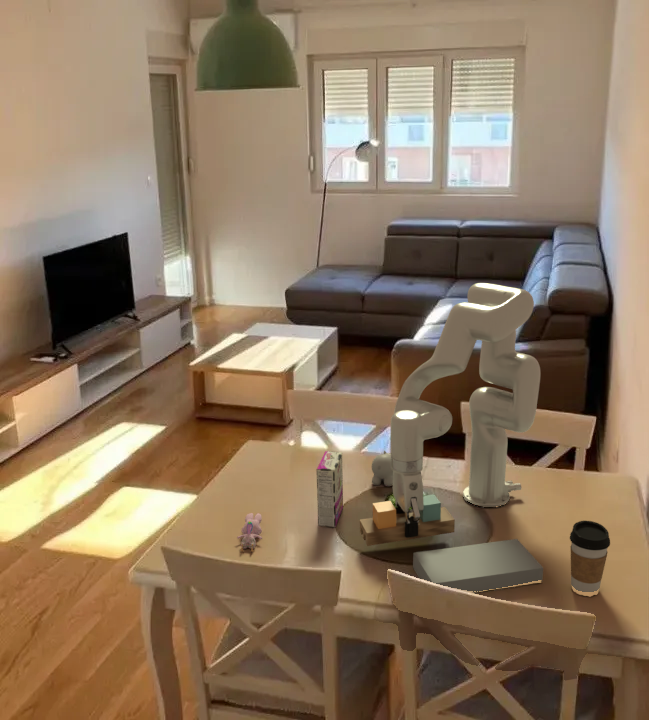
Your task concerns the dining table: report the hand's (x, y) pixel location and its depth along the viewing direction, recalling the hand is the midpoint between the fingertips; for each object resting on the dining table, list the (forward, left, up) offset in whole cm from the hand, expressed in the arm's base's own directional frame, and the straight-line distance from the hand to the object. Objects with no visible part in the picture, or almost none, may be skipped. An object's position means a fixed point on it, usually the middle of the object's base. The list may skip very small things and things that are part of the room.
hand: (406, 528), depth 194 cm
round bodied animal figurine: (-6, -37, -5) cm, 37 cm away
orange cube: (+6, 0, +2) cm, 6 cm away
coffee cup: (-32, +27, -5) cm, 43 cm away
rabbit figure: (+36, -13, -5) cm, 39 cm away
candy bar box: (+15, -19, -5) cm, 24 cm away
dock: (-11, +16, -5) cm, 21 cm away
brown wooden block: (0, 0, -1) cm, 1 cm away
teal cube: (-6, 0, +3) cm, 6 cm away
